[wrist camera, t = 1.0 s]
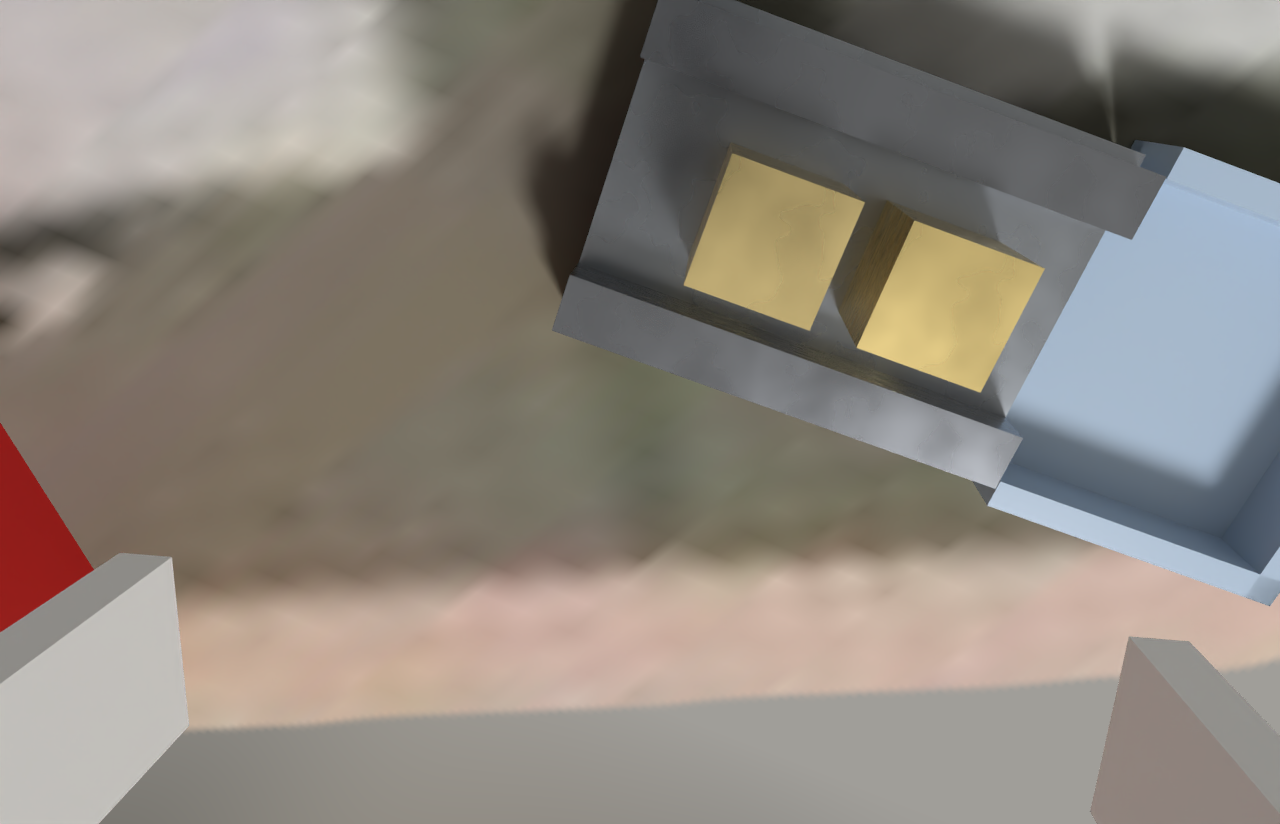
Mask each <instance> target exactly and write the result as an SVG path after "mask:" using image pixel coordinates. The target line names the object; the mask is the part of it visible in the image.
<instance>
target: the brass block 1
mask: <svg viewBox="0 0 1280 824" xmlns="http://www.w3.org/2000/svg"><path fill="white" fill-rule="evenodd" d="M864 204H865V202H864V201H863V200H862V199H861V198H860V197H859V196H857V195H856V194H855V193H854V192H853V191H852V190H851V189H849V188H848V187H847V186H846V185H845V184H842V183H840V182H837V181H834V180H832V179H829V178H826V177H823V176H821V175H818V174H815V173H813V172H810V171H807V170H805V169H802V168H799V167H796V166H794V165H791V164H788V163H786V162H783V161H780V160H777V159H775V158H772V157H769V156H767V155H764V154H761V153H759V152H756V151H753V150H750V149H748V148H745V147H742V146H740V145H737V144H734V143H730V146H729V148H728V151H727V154H726V156H725V159H724V162H723V165H722V167H721V170H720V173H719V175H718V178H717V181H716V184H715V186H714V189H713V192H712V194H711V197H710V200H709V203H708V205H707V208H706V211H705V213H704V216H703V219H702V222H701V224H700V227H699V230H698V232H697V235H696V238H695V241H694V243H693V246H692V249H691V251H690V254H689V257H688V263H687V268H686V274H685V280H684V286H687V287H690V288H693V289H695V290H698V291H701V292H704V293H706V294H709V295H712V296H715V297H717V298H720V299H723V300H726V301H729V302H731V303H734V304H737V305H740V306H742V307H745V308H748V309H751V310H753V311H756V312H759V313H762V314H764V315H767V316H770V317H773V318H775V319H778V320H781V321H784V322H787V323H789V324H792V325H795V326H798V327H800V328H803V329H806V330H809V331H810V329H811V326H812V324H813V322H814V319H815V317H816V315H817V313H818V310H819V308H820V306H821V303H822V301H823V299H824V296H825V294H826V292H827V289H828V287H829V285H830V282H831V280H832V278H833V276H834V273H835V271H836V269H837V266H838V264H839V262H840V259H841V257H842V255H843V252H844V250H845V248H846V245H847V243H848V241H849V238H850V236H851V234H852V232H853V229H854V227H855V225H856V222H857V220H858V218H859V215H860V213H861V211H862V208H863V206H864Z"/></svg>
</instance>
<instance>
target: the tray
mask: <svg viewBox="0 0 1280 824" xmlns="http://www.w3.org/2000/svg"><path fill="white" fill-rule="evenodd" d="M1131 149H1132V150H1134V151H1137V152H1140V153H1142V154H1145V155H1146V156H1145V158H1144V160H1143V162H1142V164H1141V165H1140V167H1142V168H1144V169H1147V170H1150V171H1152V172H1155V173H1158V174H1160V175H1163V176H1166V179H1165V181H1164V183H1163V184H1162V186H1161V188H1160V190H1159V192H1158V193H1157V195H1156V197H1155V199H1154V201H1153V203H1152V204H1151V206H1150V208H1149V210H1148V212H1147V214H1146V215H1145V217H1144V219H1143V221H1142V223H1141V224H1140V226H1139V228H1138V230H1137V232H1136V234H1135V235H1134V237H1133V239H1132V240H1130V239H1128V238H1125V237H1122V236H1120V235H1117V234H1114V233H1112V232H1109V231H1105V233H1104V234H1103V236H1102V238H1101V240H1100V242H1099V244H1098V246H1097V248H1096V249H1095V251H1094V253H1093V255H1092V257H1091V259H1090V261H1089V262H1088V264H1087V266H1086V268H1085V270H1084V272H1083V274H1082V275H1081V277H1080V279H1079V281H1078V283H1077V285H1076V287H1075V289H1074V290H1073V292H1072V294H1071V296H1070V298H1069V300H1068V302H1067V303H1066V305H1065V307H1064V309H1063V311H1062V313H1061V315H1060V317H1059V318H1058V320H1057V322H1056V324H1055V326H1054V328H1053V330H1052V331H1051V333H1050V335H1049V337H1048V339H1047V341H1046V343H1045V345H1044V346H1043V348H1042V350H1041V352H1040V354H1039V356H1038V358H1037V359H1036V361H1035V363H1034V365H1033V367H1032V369H1031V371H1030V372H1029V374H1028V376H1027V378H1026V380H1025V382H1024V384H1023V386H1022V387H1021V389H1020V391H1019V393H1018V395H1017V397H1016V399H1015V400H1014V402H1013V404H1012V406H1011V408H1010V410H1009V412H1008V414H1007V415H1006V418H1007V419H1008V421H1009V422H1010V423H1011V424H1012V425H1013V427H1014V428H1015V429H1016V430H1017V431H1018V433H1019V434H1020V435H1021V436H1022V437H1023V439H1022V441H1021V443H1020V445H1019V447H1018V449H1017V450H1016V452H1015V454H1014V456H1013V458H1012V459H1011V461H1010V463H1009V465H1008V467H1007V469H1006V470H1005V472H1004V474H1003V476H1002V478H1001V479H1000V481H999V483H998V485H997V487H996V489H994V488H991V487H989V486H986V485H983V484H980V483H977V482H975V481H972V482H973V483H974V485H975V486H976V488H977V490H978V491H979V493H980V494H981V496H982V498H983V499H984V501H985V502H986V504H987V505H988V506H990V507H993V508H996V509H999V510H1002V511H1004V512H1007V513H1010V514H1013V515H1016V516H1018V517H1021V518H1024V519H1027V520H1030V521H1032V522H1035V523H1038V524H1041V525H1044V526H1046V527H1049V528H1052V529H1055V530H1058V531H1060V532H1063V533H1066V534H1069V535H1072V536H1074V537H1077V538H1080V539H1083V540H1086V541H1089V542H1091V543H1094V544H1097V545H1100V546H1103V547H1105V548H1108V549H1111V550H1114V551H1117V552H1119V553H1122V554H1125V555H1128V556H1131V557H1133V558H1136V559H1139V560H1142V561H1145V562H1147V563H1150V564H1153V565H1156V566H1159V567H1161V568H1164V569H1167V570H1170V571H1173V572H1175V573H1178V574H1181V575H1184V576H1187V577H1189V578H1192V579H1195V580H1198V581H1201V582H1204V583H1206V584H1209V585H1212V586H1215V587H1218V588H1220V589H1223V590H1226V591H1229V592H1232V593H1234V594H1237V595H1240V596H1243V597H1246V598H1248V599H1251V600H1254V601H1257V602H1260V603H1262V604H1265V605H1268V606H1270V605H1271V604H1272V603H1273V601H1274V600H1275V598H1276V597H1277V596H1278V594H1279V593H1280V183H1277V182H1275V181H1272V180H1269V179H1267V178H1264V177H1261V176H1259V175H1256V174H1253V173H1251V172H1248V171H1246V170H1243V169H1240V168H1238V167H1235V166H1232V165H1230V164H1227V163H1224V162H1222V161H1219V160H1216V159H1214V158H1211V157H1208V156H1206V155H1203V154H1200V153H1198V152H1195V151H1193V150H1190V149H1187V148H1185V147H1179V146H1172V145H1166V144H1160V143H1153V142H1147V141H1140V140H1135V141H1134V143H1133V145H1132V147H1131Z"/></svg>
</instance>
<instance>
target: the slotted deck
mask: <svg viewBox="0 0 1280 824" xmlns="http://www.w3.org/2000/svg"><path fill="white" fill-rule="evenodd" d="M640 57H641V58H644V59H645V60H644V63H643V66H642V69H641V72H640V75H639V79H638V82H637V85H636V88H635V91H634V94H633V97H632V100H631V103H630V106H629V109H628V112H627V116H626V119H625V122H624V125H623V128H622V131H621V134H620V137H619V140H618V143H617V146H616V150H615V153H614V156H613V159H612V162H611V165H610V168H609V171H608V174H607V177H606V180H605V184H604V187H603V190H602V193H601V196H600V199H599V202H598V205H597V208H596V211H595V214H594V217H593V221H592V224H591V227H590V230H589V233H588V236H587V239H586V242H585V245H584V248H583V251H582V255H581V258H580V261H579V263H578V265H577V266H576V267H575V269H574V270H573V271H572V273H571V274H570V276H569V279H568V282H567V285H566V288H565V291H564V294H563V298H562V301H561V304H560V307H559V310H558V313H557V316H556V319H555V322H554V326H553V329H552V331H555V332H558V333H561V334H563V335H566V336H569V337H572V338H575V339H577V340H580V341H583V342H586V343H589V344H591V345H594V346H597V347H600V348H602V349H605V350H608V351H611V352H614V353H616V354H619V355H622V356H625V357H628V358H630V359H633V360H636V361H639V362H642V363H644V364H647V365H650V366H653V367H656V368H658V369H661V370H664V371H667V372H670V373H672V374H675V375H678V376H681V377H684V378H686V379H689V380H692V381H695V382H698V383H700V384H703V385H706V386H709V387H712V388H714V389H717V390H720V391H723V392H726V393H728V394H731V395H734V396H737V397H740V398H742V399H745V400H748V401H751V402H754V403H756V404H759V405H762V406H765V407H768V408H770V409H773V410H776V411H779V412H782V413H784V414H787V415H790V416H793V417H796V418H798V419H801V420H804V421H807V422H809V423H812V424H815V425H818V426H821V427H823V428H826V429H829V430H832V431H835V432H837V433H840V434H843V435H846V436H849V437H851V438H854V439H857V440H860V441H863V442H865V443H868V444H871V445H874V446H877V447H879V448H882V449H885V450H888V451H891V452H893V453H896V454H899V455H902V456H905V457H907V458H910V459H913V460H916V461H919V462H921V463H924V464H927V465H930V466H933V467H935V468H938V469H941V470H944V471H947V472H949V473H952V474H955V475H958V476H961V477H963V478H966V479H969V480H972V481H975V482H977V483H980V484H983V485H986V486H989V487H991V488H994V489H996V487H997V485H998V483H999V481H1000V479H1001V478H1002V476H1003V474H1004V472H1005V470H1006V469H1007V467H1008V465H1009V463H1010V461H1011V459H1012V458H1013V456H1014V454H1015V452H1016V450H1017V449H1018V447H1019V445H1020V443H1021V441H1022V439H1023V437H1022V436H1021V435H1020V434H1019V433H1018V431H1017V430H1016V429H1015V428H1014V427H1013V425H1012V424H1011V423H1010V422H1009V421H1008V419H1007V418H1006V415H1007V414H1008V412H1009V410H1010V408H1011V406H1012V404H1013V402H1014V400H1015V399H1016V397H1017V395H1018V393H1019V391H1020V389H1021V387H1022V386H1023V384H1024V382H1025V380H1026V378H1027V376H1028V374H1029V372H1030V371H1031V369H1032V367H1033V365H1034V363H1035V361H1036V359H1037V358H1038V356H1039V354H1040V352H1041V350H1042V348H1043V346H1044V345H1045V343H1046V341H1047V339H1048V337H1049V335H1050V333H1051V331H1052V330H1053V328H1054V326H1055V324H1056V322H1057V320H1058V318H1059V317H1060V315H1061V313H1062V311H1063V309H1064V307H1065V305H1066V303H1067V302H1068V300H1069V298H1070V296H1071V294H1072V292H1073V290H1074V289H1075V287H1076V285H1077V283H1078V281H1079V279H1080V277H1081V275H1082V274H1083V272H1084V270H1085V268H1086V266H1087V264H1088V262H1089V261H1090V259H1091V257H1092V255H1093V253H1094V251H1095V249H1096V248H1097V246H1098V244H1099V242H1100V240H1101V238H1102V236H1103V234H1104V233H1105V231H1109V232H1112V233H1114V234H1117V235H1120V236H1122V237H1125V238H1128V239H1130V240H1132V239H1133V237H1134V235H1135V234H1136V232H1137V230H1138V228H1139V226H1140V224H1141V223H1142V221H1143V219H1144V217H1145V215H1146V214H1147V212H1148V210H1149V208H1150V206H1151V204H1152V203H1153V201H1154V199H1155V197H1156V195H1157V193H1158V192H1159V190H1160V188H1161V186H1162V184H1163V183H1164V181H1165V179H1166V176H1163V175H1160V174H1158V173H1155V172H1152V171H1150V170H1147V169H1144V168H1142V167H1140V165H1141V164H1142V162H1143V160H1144V158H1145V156H1146V155H1145V154H1142V153H1140V152H1137V151H1134V150H1132V149H1129V148H1126V147H1124V146H1121V145H1118V144H1116V143H1113V142H1110V141H1108V140H1105V139H1102V138H1100V137H1097V136H1094V135H1092V134H1089V133H1086V132H1084V131H1081V130H1078V129H1076V128H1073V127H1070V126H1068V125H1065V124H1062V123H1060V122H1057V121H1054V120H1052V119H1049V118H1047V117H1044V116H1041V115H1039V114H1036V113H1033V112H1031V111H1028V110H1025V109H1023V108H1020V107H1017V106H1015V105H1012V104H1009V103H1007V102H1004V101H1001V100H999V99H996V98H993V97H991V96H988V95H985V94H983V93H980V92H977V91H975V90H972V89H969V88H967V87H964V86H961V85H959V84H956V83H953V82H951V81H948V80H946V79H943V78H940V77H938V76H935V75H932V74H930V73H927V72H924V71H922V70H919V69H916V68H914V67H911V66H908V65H906V64H903V63H900V62H898V61H895V60H892V59H890V58H887V57H884V56H882V55H879V54H876V53H874V52H871V51H868V50H866V49H863V48H860V47H858V46H855V45H852V44H850V43H847V42H845V41H842V40H839V39H837V38H834V37H831V36H829V35H826V34H823V33H821V32H818V31H815V30H813V29H810V28H807V27H805V26H802V25H799V24H797V23H794V22H791V21H789V20H786V19H783V18H781V17H778V16H775V15H773V14H770V13H767V12H765V11H762V10H759V9H757V8H754V7H751V6H749V5H746V4H744V3H741V2H738V1H736V0H658V2H657V5H656V9H655V12H654V15H653V18H652V21H651V24H650V27H649V30H648V33H647V36H646V40H645V43H644V46H643V49H642V52H641V55H640ZM730 143H734V144H737V145H740V146H742V147H745V148H748V149H750V150H753V151H756V152H759V153H761V154H764V155H767V156H769V157H772V158H775V159H777V160H780V161H783V162H786V163H788V164H791V165H794V166H796V167H799V168H802V169H805V170H807V171H810V172H813V173H815V174H818V175H821V176H823V177H826V178H829V179H832V180H834V181H837V182H840V183H842V184H845V185H846V186H847V187H848V188H849V189H851V190H852V191H853V192H854V193H855V194H856V195H857V196H859V197H860V198H861V199H862V200H863V201H864V202H865V204H864V206H863V208H862V211H861V213H860V215H859V218H858V220H857V222H856V225H855V227H854V229H853V232H852V234H851V236H850V238H849V241H848V243H847V245H846V248H845V250H844V252H843V255H842V257H841V259H840V262H839V264H838V266H837V269H836V271H835V273H834V276H833V278H832V280H831V282H830V285H829V287H828V289H827V292H826V294H825V296H824V299H823V301H822V303H821V306H820V308H819V310H818V313H817V315H816V317H815V319H814V322H813V324H812V326H811V329H810V331H809V330H806V329H803V328H800V327H798V326H795V325H792V324H789V323H787V322H784V321H781V320H778V319H775V318H773V317H770V316H767V315H764V314H762V313H759V312H756V311H753V310H751V309H748V308H745V307H742V306H740V305H737V304H734V303H731V302H729V301H726V300H723V299H720V298H717V297H715V296H712V295H709V294H706V293H704V292H701V291H698V290H695V289H693V288H690V287H687V286H684V280H685V274H686V268H687V263H688V257H689V254H690V251H691V249H692V246H693V243H694V241H695V238H696V235H697V232H698V230H699V227H700V224H701V222H702V219H703V216H704V213H705V211H706V208H707V205H708V203H709V200H710V197H711V194H712V192H713V189H714V186H715V184H716V181H717V178H718V175H719V173H720V170H721V167H722V165H723V162H724V159H725V156H726V154H727V151H728V148H729V146H730ZM887 200H888V201H891V202H894V203H897V204H899V205H902V206H905V207H907V208H910V209H913V210H916V211H918V212H921V213H924V214H926V215H929V216H932V217H934V218H937V219H940V220H943V221H945V222H948V223H951V224H953V225H956V226H959V227H962V228H964V229H967V230H970V231H972V232H975V233H978V234H980V235H983V236H986V237H989V238H991V239H994V240H997V241H999V242H1001V243H1003V244H1005V245H1006V246H1008V247H1010V248H1011V249H1013V250H1015V251H1016V252H1018V253H1020V254H1021V255H1023V256H1025V257H1026V258H1028V259H1030V260H1031V261H1033V262H1035V263H1036V264H1038V265H1040V266H1041V267H1043V268H1045V269H1044V271H1043V273H1042V275H1041V277H1040V279H1039V281H1038V283H1037V285H1036V287H1035V289H1034V291H1033V293H1032V294H1031V296H1030V298H1029V300H1028V302H1027V304H1026V306H1025V308H1024V310H1023V312H1022V314H1021V316H1020V318H1019V320H1018V321H1017V323H1016V325H1015V327H1014V329H1013V331H1012V333H1011V335H1010V337H1009V339H1008V341H1007V343H1006V345H1005V347H1004V348H1003V350H1002V352H1001V354H1000V356H999V358H998V360H997V362H996V364H995V366H994V368H993V370H992V372H991V373H990V375H989V377H988V379H987V381H986V383H985V385H984V387H983V389H982V391H981V393H980V392H977V391H974V390H972V389H969V388H966V387H963V386H961V385H958V384H955V383H952V382H950V381H947V380H944V379H941V378H939V377H936V376H933V375H930V374H927V373H925V372H922V371H919V370H916V369H914V368H911V367H908V366H905V365H903V364H900V363H897V362H894V361H892V360H889V359H886V358H883V357H881V356H878V355H875V354H872V353H869V352H867V351H864V350H861V349H858V348H856V346H855V344H854V342H853V340H852V338H851V336H850V334H849V332H848V330H847V328H846V326H845V324H844V322H843V320H842V318H841V316H840V314H839V312H838V311H839V308H840V306H841V304H842V302H843V299H844V297H845V295H846V293H847V290H848V288H849V286H850V283H851V281H852V279H853V277H854V274H855V272H856V270H857V268H858V265H859V263H860V261H861V259H862V256H863V254H864V252H865V249H866V247H867V245H868V243H869V240H870V238H871V236H872V234H873V231H874V229H875V227H876V224H877V222H878V220H879V218H880V215H881V213H882V211H883V209H884V206H885V204H886V202H887Z"/></svg>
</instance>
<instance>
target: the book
mask: <svg viewBox="0 0 1280 824" xmlns="http://www.w3.org/2000/svg"><path fill="white" fill-rule="evenodd" d="M93 570H94V569H93V568H92V566H91V565H90V563H89V561H88V560H87V558H86V557H85V555H84V554H83V552H82V550H81V549H80V547H79V546H78V544H77V543H76V541H75V539H74V538H73V536H72V535H71V533H70V532H69V530H68V528H67V527H66V525H65V524H64V522H63V521H62V519H61V517H60V516H59V514H58V513H57V511H56V510H55V508H54V506H53V505H52V503H51V502H50V500H49V499H48V497H47V495H46V494H45V492H44V491H43V489H42V488H41V486H40V484H39V483H38V481H37V480H36V478H35V477H34V475H33V473H32V472H31V470H30V469H29V467H28V466H27V464H26V462H25V461H24V459H23V458H22V456H21V455H20V453H19V451H18V450H17V448H16V447H15V445H14V444H13V442H12V440H11V439H10V437H9V436H8V434H7V433H6V431H5V429H4V428H3V426H2V425H1V423H0V632H2V631H3V630H5V629H6V628H8V627H9V626H11V625H12V624H14V623H15V622H17V621H18V620H20V619H21V618H23V617H24V616H26V615H27V614H29V613H30V612H32V611H33V610H35V609H36V608H38V607H39V606H41V605H42V604H44V603H45V602H47V601H48V600H50V599H51V598H53V597H54V596H56V595H57V594H59V593H60V592H62V591H63V590H65V589H66V588H68V587H69V586H71V585H72V584H74V583H75V582H77V581H78V580H80V579H81V578H83V577H84V576H86V575H87V574H89V573H90V572H92V571H93Z"/></svg>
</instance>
